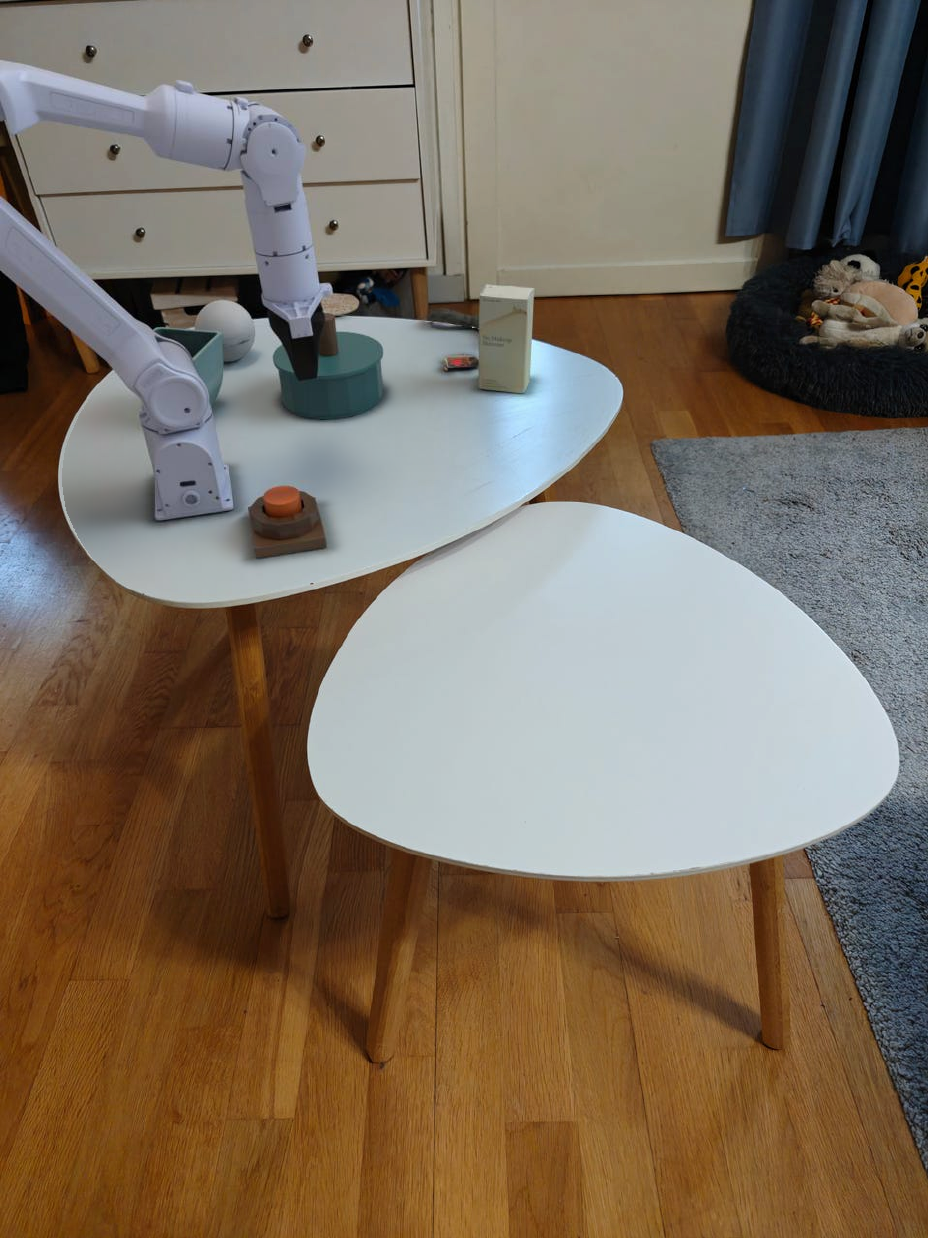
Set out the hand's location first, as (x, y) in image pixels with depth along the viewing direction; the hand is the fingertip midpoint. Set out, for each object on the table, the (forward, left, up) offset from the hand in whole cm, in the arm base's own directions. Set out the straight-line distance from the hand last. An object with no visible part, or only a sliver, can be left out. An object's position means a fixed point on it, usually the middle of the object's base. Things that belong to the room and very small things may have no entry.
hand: (307, 376), depth 101 cm
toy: (+33, -26, -7) cm, 42 cm away
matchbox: (+22, -22, -11) cm, 33 cm away
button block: (-13, +5, -11) cm, 17 cm away
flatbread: (+48, -9, -11) cm, 50 cm away
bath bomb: (+33, +8, -11) cm, 35 cm away
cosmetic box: (+14, -26, -11) cm, 31 cm away
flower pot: (+18, +14, -11) cm, 25 cm away
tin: (+17, -4, -11) cm, 20 cm away
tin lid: (+17, -4, -5) cm, 18 cm away
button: (-13, +5, -8) cm, 16 cm away
